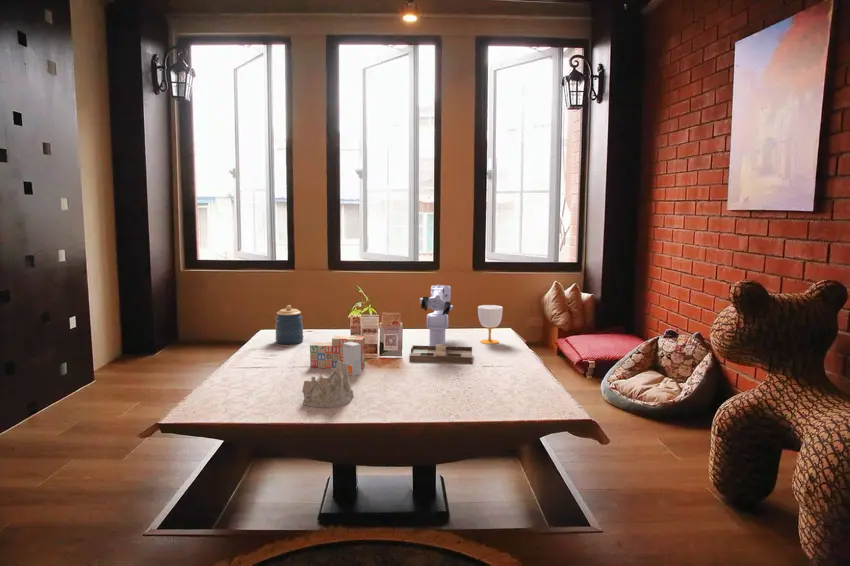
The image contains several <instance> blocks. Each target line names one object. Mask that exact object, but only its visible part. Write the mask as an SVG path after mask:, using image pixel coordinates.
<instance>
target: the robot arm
mask: <svg viewBox="0 0 850 566" xmlns="http://www.w3.org/2000/svg"><path fill="white" fill-rule="evenodd" d="M451 292H452V288H451V286H450V285H441V284H436V285H431V286H430V297H429V296H423V297H419V302H418V303H419V304H420V305H421V306H420V308H421V309H422V310H423V309H424V311H425V312H427V309H428V308H429V309H431V310H432V311H433V312H430V313H427V315H426V328H427V329H428V330H429V345H428V346H436V344H446V329H448V328H449V313H450V311H451V312H453V307H454V305H452V304H451V302H450V301H451ZM446 346H448V345H447V344H446Z"/></svg>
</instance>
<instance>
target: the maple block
mask: <svg viewBox="0 0 850 566" xmlns="http://www.w3.org/2000/svg"><path fill="white" fill-rule="evenodd" d="M445 355H446V343H445V344H436V356H445Z"/></svg>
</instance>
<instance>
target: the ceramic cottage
mask: <svg viewBox="0 0 850 566" xmlns="http://www.w3.org/2000/svg"><path fill="white" fill-rule="evenodd" d="M301 391H302V393H303V401H302V405H303V406H307V407H314V408H323V409H325V408H327V409H328V408H341V407H344V406H346V405H349V404H350V403H351V402H352V401H353V399H354V397H355V396H354V391H353V388H352V385H351V381H350V378H349V374H348V368H347V363H346V362H343V363H342V367H341V361H337V364H336V368H329V377H324V376H323V375H322V374H319V375H318V378H317V379H316V376H315V375H314V376H311V378H310V380H304V381H303V386H302V390H301Z"/></svg>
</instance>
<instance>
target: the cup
mask: <svg viewBox="0 0 850 566" xmlns="http://www.w3.org/2000/svg"><path fill="white" fill-rule="evenodd" d="M503 312H504V310H503V306H501V305H495V304H482V305H478V306H477V315H478V322H479V323H480V325H481V326H482V327H483V328H486V329H488V337H487V339H482V340H480V341H479V342H480V343H481V344H484V345H497V344H499V343H500V341H499V340H497V339H492V334H491V333H492V329H495V328H498V326H499V325H500V324H501V321H502V319H503Z"/></svg>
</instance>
